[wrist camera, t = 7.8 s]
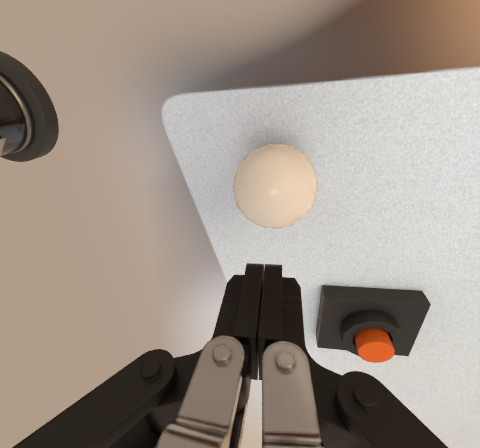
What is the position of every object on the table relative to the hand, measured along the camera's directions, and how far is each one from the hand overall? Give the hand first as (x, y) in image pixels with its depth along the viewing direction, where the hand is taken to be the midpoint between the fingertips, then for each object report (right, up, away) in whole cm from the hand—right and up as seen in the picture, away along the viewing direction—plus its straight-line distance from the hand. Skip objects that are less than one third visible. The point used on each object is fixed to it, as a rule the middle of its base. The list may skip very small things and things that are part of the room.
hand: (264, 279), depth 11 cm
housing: (+16, -10, +24) cm, 31 cm away
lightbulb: (+3, +9, +15) cm, 18 cm away
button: (+16, -12, +21) cm, 29 cm away
